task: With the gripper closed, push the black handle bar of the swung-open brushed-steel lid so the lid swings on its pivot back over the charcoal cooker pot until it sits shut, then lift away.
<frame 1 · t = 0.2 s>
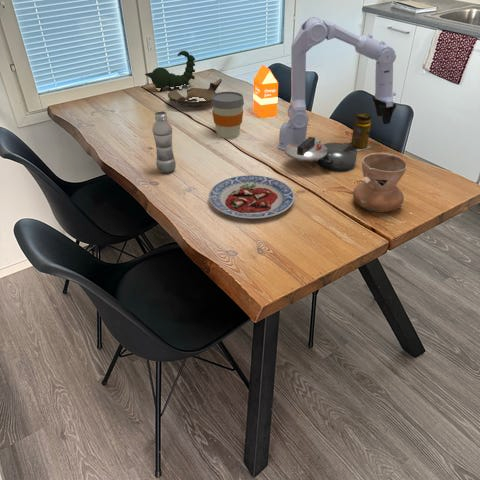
hand: (383, 119, 165), 11 cm above the table, tool pointing down, fingers open, 7 cm apart
cooker lid: (308, 145, 154), point 7 cm above the table, hinge at -85.0°
toy figurine: (172, 89, 229), on the table
ceramic plate: (251, 201, 139), on the table
orange juice: (264, 114, 200), on the table
cooker body: (336, 163, 159), on the table
condiment: (356, 147, 171), on the table
brown clay hourglass vessel: (377, 204, 137), on the table
plastic bottle: (166, 171, 155), on the table
reusable coffee cup: (228, 134, 182), on the table
oil lamp: (199, 104, 212), on the table
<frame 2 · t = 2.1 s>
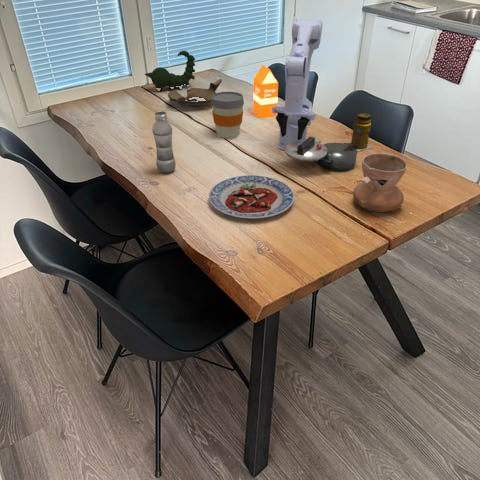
hand: (291, 137, 152), 10 cm above the table, tool pointing down, fingers open, 5 cm apart
nothing on the table moved.
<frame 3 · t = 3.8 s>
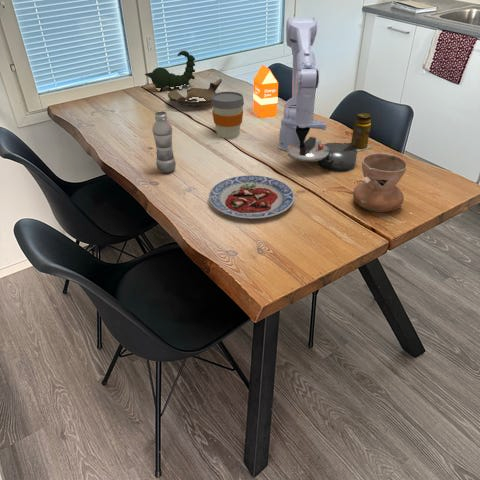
hand: (301, 148, 152), 7 cm above the table, tool pointing down, fingers closed, pressing on cooker lid
cooker lid: (309, 146, 154), point 7 cm above the table, hinge at -81.1°, touching gripper
everything else where it was.
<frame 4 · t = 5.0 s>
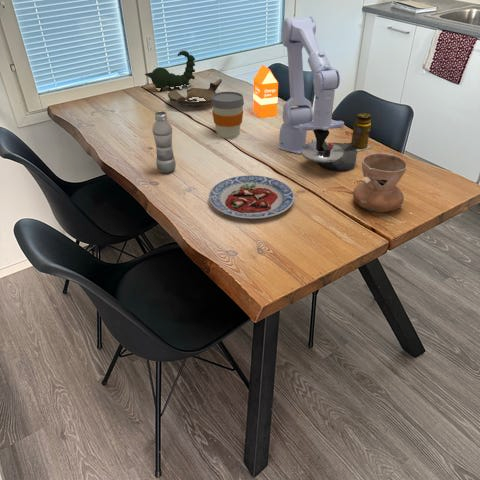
hand: (319, 150, 151), 7 cm above the table, tool pointing down, fingers closed, pressing on cooker lid
cooker lid: (321, 146, 153), point 7 cm above the table, hinge at -48.4°, touching gripper
everything else where it was.
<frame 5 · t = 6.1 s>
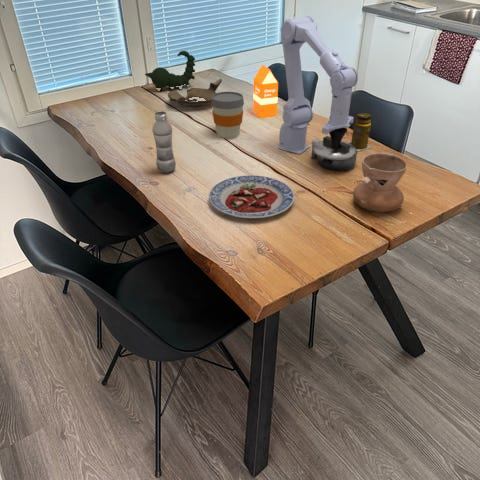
hand: (335, 148, 152), 7 cm above the table, tool pointing down, fingers closed, pressing on cooker lid
cooker lid: (332, 145, 154), point 7 cm above the table, hinge at -16.0°, touching gripper
everything else where it was.
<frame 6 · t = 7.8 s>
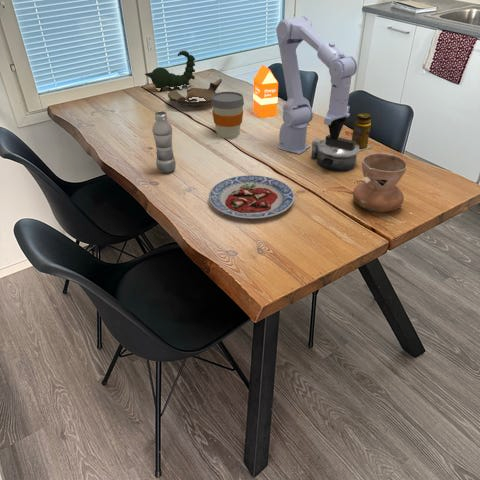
hand: (334, 138, 151), 10 cm above the table, tool pointing down, fingers closed
cooker lid: (335, 143, 156), point 7 cm above the table, hinge at -0.2°
everything else where it was.
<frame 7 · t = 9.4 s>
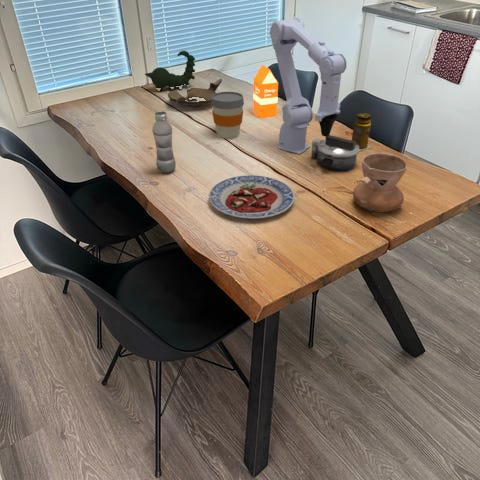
hand: (325, 135, 153), 10 cm above the table, tool pointing down, fingers closed
nothing on the table moved.
at the end: cooker lid at +0° (first picture: -85°); condiment moved 0.3 cm from its start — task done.
